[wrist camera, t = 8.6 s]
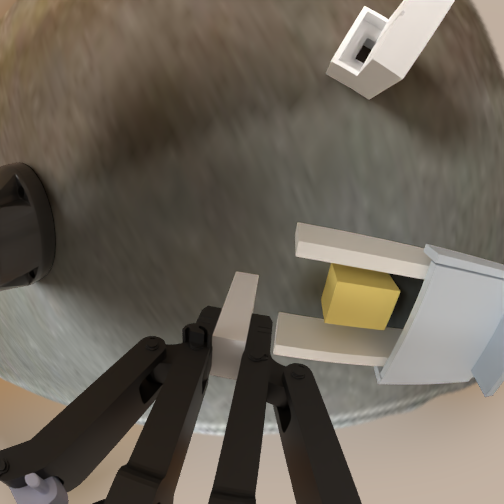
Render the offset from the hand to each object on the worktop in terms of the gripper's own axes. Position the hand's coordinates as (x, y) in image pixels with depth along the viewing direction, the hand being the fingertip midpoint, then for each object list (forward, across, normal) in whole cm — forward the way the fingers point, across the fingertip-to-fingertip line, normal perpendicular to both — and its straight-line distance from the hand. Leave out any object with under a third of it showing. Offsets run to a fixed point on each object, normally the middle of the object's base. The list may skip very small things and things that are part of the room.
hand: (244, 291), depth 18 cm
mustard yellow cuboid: (+4, +9, 0) cm, 10 cm away
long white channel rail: (+4, +13, 0) cm, 13 cm away
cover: (0, +17, 0) cm, 17 cm away
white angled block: (+5, +6, +18) cm, 19 cm away
